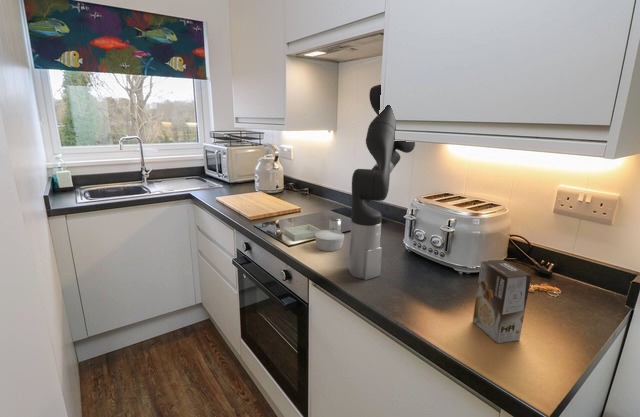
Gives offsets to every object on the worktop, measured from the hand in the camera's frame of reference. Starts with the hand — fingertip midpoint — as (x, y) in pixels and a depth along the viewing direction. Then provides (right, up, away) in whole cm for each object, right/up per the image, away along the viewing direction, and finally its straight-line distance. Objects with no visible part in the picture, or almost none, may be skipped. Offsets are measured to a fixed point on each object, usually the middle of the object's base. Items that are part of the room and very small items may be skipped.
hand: (359, 199), depth 146 cm
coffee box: (+25, -33, -64) cm, 76 cm away
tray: (-24, -15, -2) cm, 28 cm away
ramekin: (-13, -19, -15) cm, 27 cm away
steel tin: (-11, -15, -3) cm, 19 cm away
